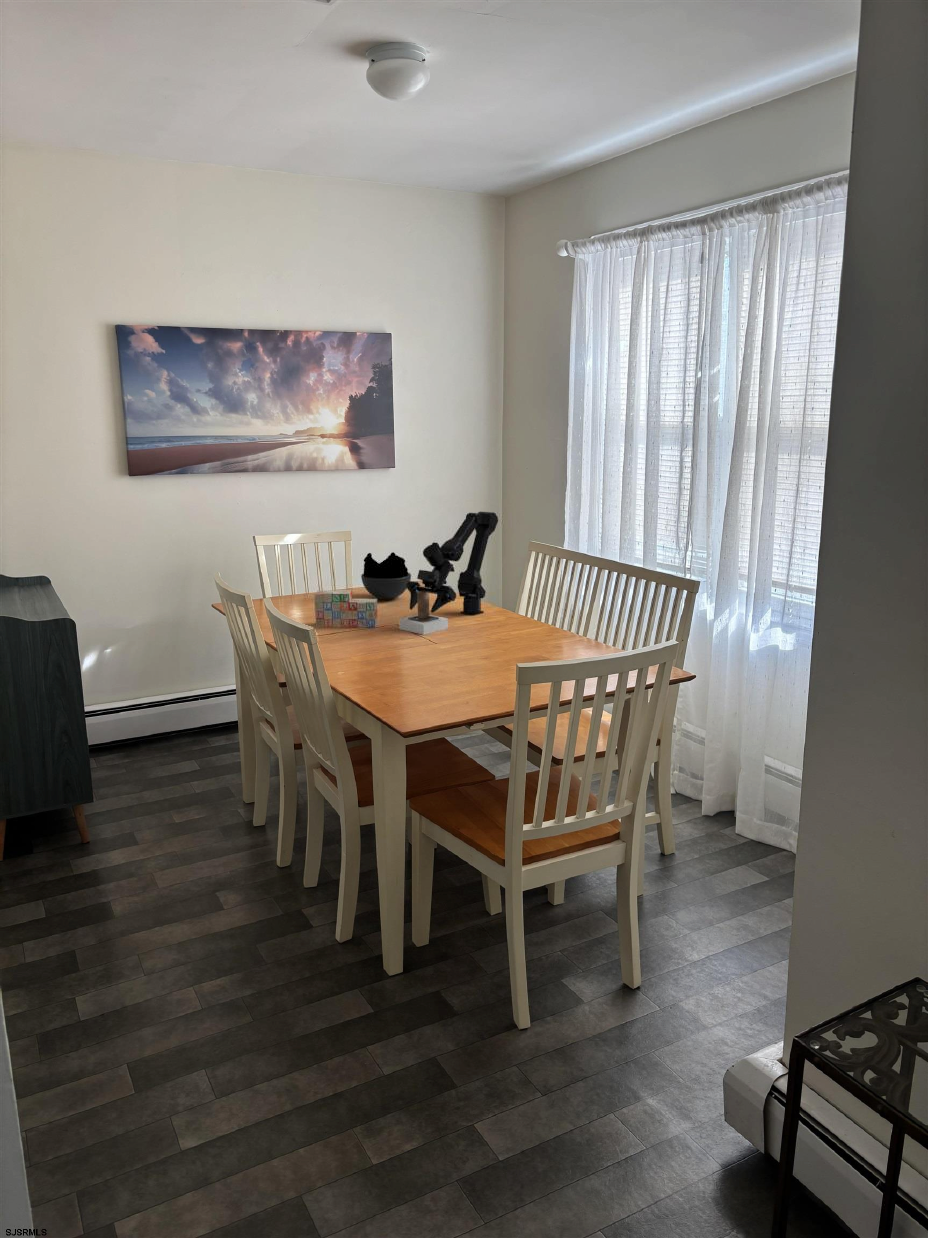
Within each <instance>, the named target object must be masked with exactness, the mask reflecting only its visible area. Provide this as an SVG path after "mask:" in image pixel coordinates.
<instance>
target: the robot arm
mask: <svg viewBox="0 0 928 1238" xmlns="http://www.w3.org/2000/svg"><path fill="white" fill-rule="evenodd" d="M498 523H499V517H498V515H497V514H496V512H493V511H492V512H490V511H478V512H468V513H467V514H466V515H465V519H464V520H463V522H462V523H461V525H460V526H459V527H458V529H457V530H456V532H455V534H454V535H453V536H452V537H451V538H449V539H448V540H445V542H443V544H442V545H441V546H440V544H439V543H438V542H435V541H434V542H432V543H431V544H430V545H427V546H426V547H425V548H424V549H423V551H422V556H423V557H424V559H426V561H427V562H428V564H429V565H430V566H431V567H433V569H432V570H426V569H425V570H423V569H419V570H418V574H417V577H416V579H417V580H420V581H421V583H422V585H421V584H420V583H419V582H418V581H414V580H410V581H408V583H407V585H406V586H405V587H406V588H407V589H406V590H408V592H409V593H410V600H409V610H410V611H412V610H413V609H414V608H415V606H416V605H418V597H417V592H420V591H427V592H429V594H434V595H436V599H435V600H434V602H433V605H432V607H431V609H430V612H431V613H432V614H434V613H435V612H436V611H437V610H439V609H441V608H442V607H443V606H445V605H446V604H449V603H452V602H455V600H456V598H457V593H456V592H455V590H454V588H453V587H452V586H451V585H447V584H448V583H447V582H448V581H447V577H448V576H449V574H450V572H451V573H453V572H455V568H454V564H453V563H451V562H459V561H460V560H461V558H462V556H463V553H464V551H465V550H464V546H465V544H466V543H467V541H468V540H469V539H470V537H471V535H472V534H473V533H474V531H475V536H474V540H473V544H472V547H471V548H472V549H471V552H470V555H469V556H470V557H469V560H468V563H467V567H466V569H465V571H461V572H460V573H459V576H458V579H457V591H458V594H459V597H463V603H462V609H463V610H462V611H460V614H465V615H470V616H476V615H478V614H482V613H484V612H485V611H484V610H482V608H481V607H482V599H484V598H485V597H486V594H487V593H486V589H484V587H483V586H482V582H483V581H482V577H481V574H480V573H481V568H482V565H483V561H484V558H485V557H484V556H485V553H486V549H487V545H488V543H489V542H488V541H489V537H490V536H491V535H492V533H494V532H495V530H496V528H497V526H498ZM423 585H424V586H423Z"/></svg>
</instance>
